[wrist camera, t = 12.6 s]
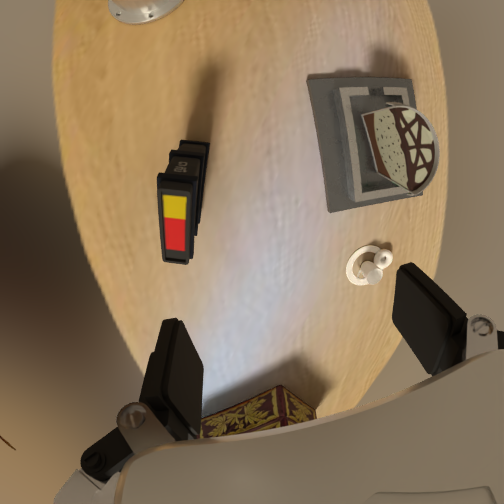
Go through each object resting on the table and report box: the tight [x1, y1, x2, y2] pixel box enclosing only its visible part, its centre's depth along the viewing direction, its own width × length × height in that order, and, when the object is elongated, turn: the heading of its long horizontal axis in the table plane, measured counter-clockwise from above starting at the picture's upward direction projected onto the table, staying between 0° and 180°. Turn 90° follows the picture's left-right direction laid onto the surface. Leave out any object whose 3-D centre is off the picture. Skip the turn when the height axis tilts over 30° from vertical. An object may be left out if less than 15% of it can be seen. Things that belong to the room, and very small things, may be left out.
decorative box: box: [197, 385, 317, 439], centre depth 58 cm, size 28×19×15 cm
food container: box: [361, 102, 440, 196], centre depth 31 cm, size 12×6×10 cm, turn 21°
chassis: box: [306, 77, 423, 213], centre depth 35 cm, size 20×18×4 cm
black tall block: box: [157, 140, 210, 265], centre depth 33 cm, size 4×13×15 cm, turn 170°
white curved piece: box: [346, 245, 393, 285], centre depth 45 cm, size 9×8×4 cm
